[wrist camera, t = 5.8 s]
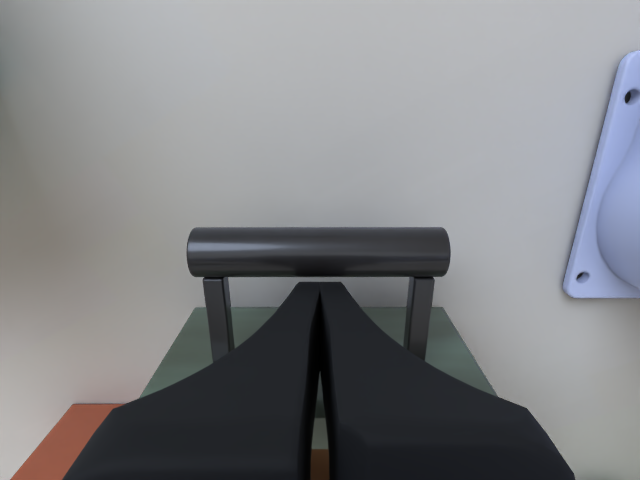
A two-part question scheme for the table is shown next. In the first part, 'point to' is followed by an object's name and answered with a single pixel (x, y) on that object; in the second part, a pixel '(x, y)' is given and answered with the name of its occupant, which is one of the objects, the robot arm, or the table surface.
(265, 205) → the table surface
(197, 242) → the drawer
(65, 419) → the block
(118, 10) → the table surface
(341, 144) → the table surface
